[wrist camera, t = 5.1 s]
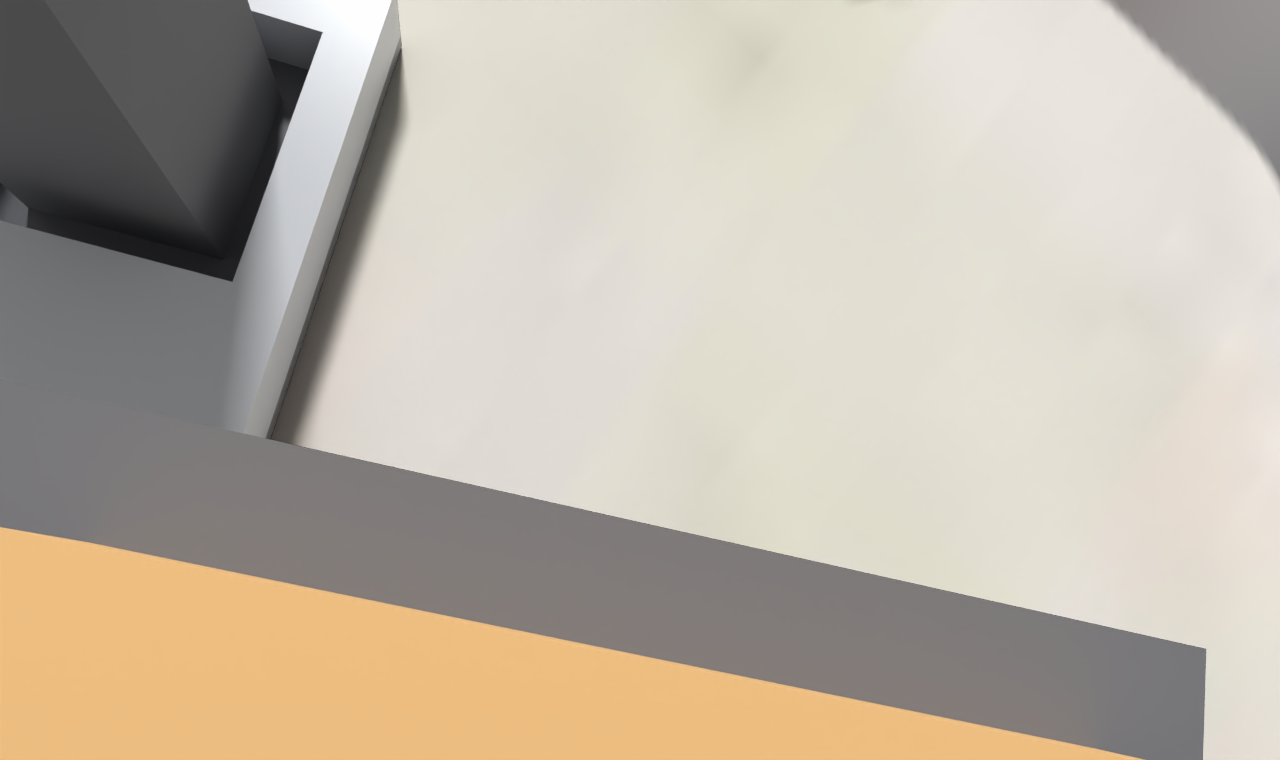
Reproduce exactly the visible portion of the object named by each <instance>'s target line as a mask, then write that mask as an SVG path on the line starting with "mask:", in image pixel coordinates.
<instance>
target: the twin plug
mask: <svg viewBox="0 0 1280 760" xmlns="http://www.w3.org/2000/svg"><path fill="white" fill-rule="evenodd" d="M281 101H282V97H281V95H280V92H279V89H278V86H277V83H276V80H275V77H274V74H273V72H272V69H271V66H270V63H269V60H268V57H267V54H266V52H265V49H264V46H263V43H262V40H261V37H260V34H259V31H258V29H257V26H256V23H255V20H254V17H253V14H252V11H251V8H250V6H249V3H248V0H0V183H1V184H2V185H4V186H5V187H6V188H7V189H8V190H9V191H10V192H11V193H12V194H13V195H15V196H16V197H17V198H18V199H19V200H20V201H21V202H22V203H23V204H24V205H26V206H27V207H28V208H30V209H34V210H38V211H42V212H45V213H49V214H53V215H56V216H60V217H64V218H68V219H71V220H75V221H79V222H83V223H86V224H90V225H94V226H98V227H101V228H105V229H109V230H113V231H116V232H120V233H124V234H128V235H131V236H135V237H139V238H143V239H146V240H150V241H154V242H158V243H161V244H165V245H169V246H173V247H176V248H180V249H184V250H187V251H191V252H195V253H199V254H202V255H206V256H210V257H214V258H217V259H221V260H223V259H224V256H225V254H226V251H227V248H228V246H229V243H230V240H231V237H232V235H233V232H234V229H235V226H236V224H237V221H238V218H239V216H240V213H241V210H242V207H243V205H244V202H245V199H246V196H247V194H248V191H249V188H250V186H251V183H252V180H253V177H254V175H255V172H256V169H257V167H258V164H259V161H260V158H261V156H262V153H263V150H264V147H265V145H266V142H267V139H268V137H269V134H270V131H271V128H272V126H273V123H274V120H275V118H276V115H277V112H278V109H279V107H280V104H281Z"/></svg>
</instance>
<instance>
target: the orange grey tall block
mask: <svg viewBox="0 0 1280 760" xmlns="http://www.w3.org/2000/svg"><path fill="white" fill-rule="evenodd" d="M1205 669H1206V649H1204V648H1200V647H1195V646H1191V645H1186V644H1182V643H1177V642H1173V641H1168V640H1164V639H1159V638H1155V637H1150V636H1146V635H1142V634H1137V633H1133V632H1128V631H1124V630H1119V629H1115V628H1110V627H1106V626H1101V625H1097V624H1092V623H1088V622H1083V621H1079V620H1074V619H1070V618H1066V617H1061V616H1057V615H1052V614H1048V613H1043V612H1039V611H1034V610H1030V609H1025V608H1021V607H1016V606H1012V605H1007V604H1003V603H998V602H994V601H990V600H985V599H981V598H976V597H972V596H967V595H963V594H958V593H954V592H949V591H945V590H940V589H936V588H931V587H927V586H923V585H918V584H914V583H909V582H905V581H900V580H896V579H891V578H887V577H882V576H878V575H873V574H869V573H864V572H860V571H855V570H851V569H847V568H842V567H838V566H833V565H829V564H824V563H820V562H815V561H811V560H806V559H802V558H797V557H793V556H788V555H784V554H780V553H775V552H771V551H766V550H762V549H757V548H753V547H748V546H744V545H739V544H735V543H730V542H726V541H721V540H717V539H712V538H708V537H704V536H699V535H695V534H690V533H686V532H681V531H677V530H672V529H668V528H663V527H659V526H654V525H650V524H645V523H641V522H636V521H632V520H628V519H623V518H619V517H614V516H610V515H605V514H601V513H596V512H592V511H587V510H583V509H578V508H574V507H569V506H565V505H561V504H556V503H552V502H547V501H543V500H538V499H534V498H529V497H525V496H520V495H516V494H511V493H507V492H502V491H498V490H493V489H489V488H485V487H480V486H476V485H471V484H467V483H462V482H458V481H453V480H449V479H444V478H440V477H435V476H431V475H426V474H422V473H417V472H413V471H409V470H404V469H400V468H395V467H391V466H386V465H382V464H377V463H373V462H368V461H364V460H359V459H355V458H350V457H346V456H342V455H337V454H333V453H328V452H324V451H319V450H315V449H310V448H306V447H301V446H297V445H292V444H288V443H283V442H279V441H274V440H270V439H266V438H261V437H257V436H252V435H248V434H243V433H239V432H234V431H230V430H225V429H221V428H216V427H212V426H207V425H203V424H198V423H194V422H190V421H185V420H181V419H176V418H172V417H167V416H163V415H158V414H154V413H149V412H145V411H140V410H136V409H131V408H127V407H123V406H118V405H114V404H109V403H105V402H100V401H96V400H91V399H87V398H82V397H78V396H73V395H69V394H64V393H60V392H55V391H51V390H47V389H42V388H38V387H33V386H29V385H24V384H20V383H15V382H11V381H6V380H2V379H0V760H1203V736H1204V702H1205Z"/></svg>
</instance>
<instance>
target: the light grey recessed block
mask: <svg viewBox="0 0 1280 760" xmlns="http://www.w3.org/2000/svg"><path fill="white" fill-rule="evenodd" d="M248 3H249V6H250V8H251V11H252V14H253V17H254V20H255V23H256V26H257V29H258V31H259V34H260V37H261V40H262V43H263V46H264V49H265V52H266V54H267V57H268V60H269V63H270V66H271V69H272V72H273V74H274V77H275V80H276V83H277V86H278V89H279V92H280V95H281V97H282V101H281V104H280V107H279V109H278V112H277V115H276V118H275V120H274V123H273V126H272V128H271V131H270V134H269V137H268V139H267V142H266V145H265V147H264V150H263V153H262V156H261V158H260V161H259V164H258V167H257V169H256V172H255V175H254V177H253V180H252V183H251V186H250V188H249V191H248V194H247V196H246V199H245V202H244V205H243V207H242V210H241V213H240V216H239V218H238V221H237V224H236V226H235V229H234V232H233V235H232V237H231V240H230V243H229V246H228V248H227V251H226V254H225V256H224V259H223V260H221V259H217V258H214V257H210V256H206V255H202V254H199V253H195V252H191V251H187V250H184V249H180V248H176V247H173V246H169V245H165V244H161V243H158V242H154V241H150V240H146V239H143V238H139V237H135V236H131V235H128V234H124V233H120V232H116V231H113V230H109V229H105V228H101V227H98V226H94V225H90V224H86V223H83V222H79V221H75V220H71V219H68V218H64V217H60V216H56V215H53V214H49V213H45V212H42V211H38V210H34V209H30V208H28V207H27V206H26V205H24V204H23V203H22V202H21V201H20V200H19V199H18V198H17V197H16V196H15V195H13V194H12V193H11V192H10V191H9V190H8V189H7V188H6V187H5V186H4V185H2V184H1V183H0V379H2V380H6V381H11V382H15V383H20V384H24V385H29V386H33V387H38V388H42V389H47V390H51V391H55V392H60V393H64V394H69V395H73V396H78V397H82V398H87V399H91V400H96V401H100V402H105V403H109V404H114V405H118V406H123V407H127V408H131V409H136V410H140V411H145V412H149V413H154V414H158V415H163V416H167V417H172V418H176V419H181V420H185V421H190V422H194V423H198V424H203V425H207V426H212V427H216V428H221V429H225V430H230V431H234V432H239V433H243V434H248V435H252V436H257V437H261V438H266V439H271V436H272V433H273V430H274V427H275V424H276V421H277V418H278V415H279V412H280V409H281V406H282V403H283V400H284V397H285V394H286V391H287V388H288V385H289V382H290V379H291V376H292V373H293V370H294V367H295V364H296V361H297V358H298V355H299V352H300V349H301V346H302V343H303V340H304V337H305V334H306V331H307V328H308V325H309V322H310V319H311V316H312V313H313V310H314V307H315V304H316V301H317V298H318V295H319V292H320V289H321V286H322V283H323V280H324V277H325V274H326V271H327V268H328V265H329V262H330V259H331V256H332V253H333V250H334V247H335V244H336V241H337V238H338V235H339V232H340V229H341V226H342V223H343V220H344V217H345V214H346V211H347V208H348V205H349V202H350V199H351V196H352V193H353V190H354V187H355V184H356V181H357V178H358V175H359V172H360V169H361V166H362V163H363V160H364V157H365V154H366V151H367V148H368V145H369V142H370V139H371V136H372V133H373V130H374V127H375V124H376V121H377V118H378V115H379V112H380V109H381V106H382V103H383V100H384V97H385V94H386V91H387V88H388V85H389V82H390V79H391V76H392V73H393V70H394V67H395V64H396V61H397V58H398V55H399V52H400V49H401V46H402V43H401V33H400V23H399V13H398V3H397V0H248Z"/></svg>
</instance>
